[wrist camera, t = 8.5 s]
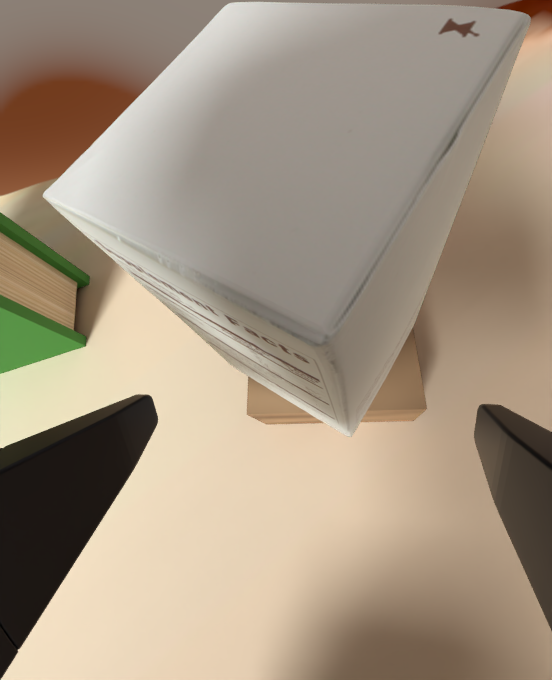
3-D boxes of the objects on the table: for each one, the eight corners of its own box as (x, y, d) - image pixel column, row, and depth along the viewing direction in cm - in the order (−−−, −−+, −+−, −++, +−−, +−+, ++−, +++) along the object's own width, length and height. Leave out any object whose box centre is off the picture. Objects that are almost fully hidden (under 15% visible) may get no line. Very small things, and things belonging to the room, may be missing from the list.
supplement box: (301, 271, 20) (229, -11, 8) (419, 322, 17) (558, -7, 5) (232, 370, 18) (25, 190, 7) (349, 445, 15) (335, 351, 4)
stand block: (413, 420, 19) (426, 408, 15) (266, 424, 21) (246, 414, 17) (393, 288, 22) (400, 253, 18) (268, 302, 24) (252, 273, 20)
